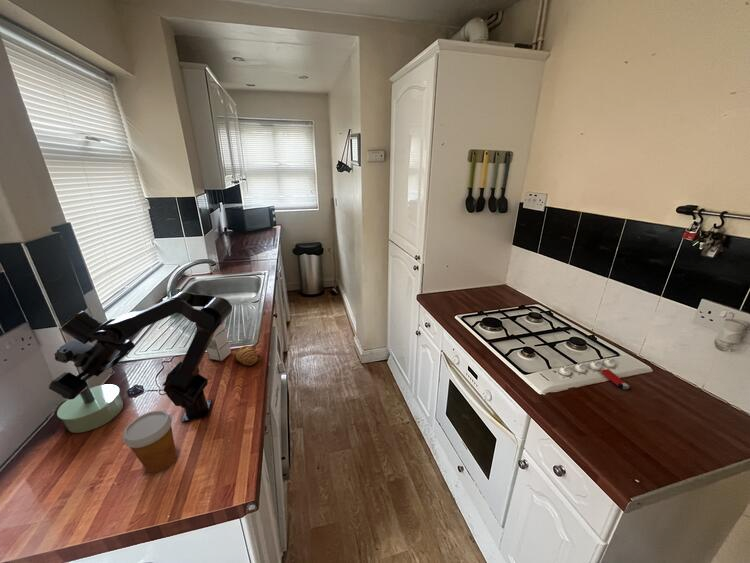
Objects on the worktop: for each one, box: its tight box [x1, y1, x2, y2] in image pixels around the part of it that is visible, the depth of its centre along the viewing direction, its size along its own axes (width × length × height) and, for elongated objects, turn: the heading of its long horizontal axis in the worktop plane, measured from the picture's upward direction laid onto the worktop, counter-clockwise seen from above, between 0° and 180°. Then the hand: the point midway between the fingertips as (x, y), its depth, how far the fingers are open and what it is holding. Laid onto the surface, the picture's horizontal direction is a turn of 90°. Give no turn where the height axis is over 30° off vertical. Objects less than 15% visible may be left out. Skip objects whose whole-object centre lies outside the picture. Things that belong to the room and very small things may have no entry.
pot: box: [62, 393, 124, 434], centre depth 89 cm, size 13×13×5 cm
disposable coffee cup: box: [122, 410, 177, 474], centre depth 73 cm, size 10×10×12 cm
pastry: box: [235, 345, 259, 366], centre depth 112 cm, size 9×7×4 cm
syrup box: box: [206, 321, 232, 362], centre depth 113 cm, size 6×6×14 cm
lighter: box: [600, 368, 630, 390], centre depth 98 cm, size 3×1×8 cm
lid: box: [56, 377, 121, 421], centre depth 87 cm, size 14×14×9 cm
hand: (79, 385), depth 86 cm, fingers open, 9 cm apart
